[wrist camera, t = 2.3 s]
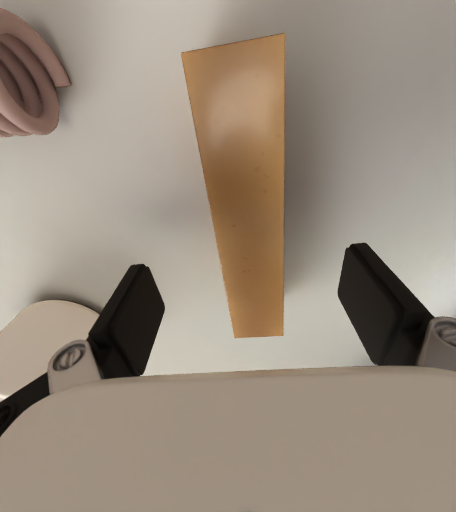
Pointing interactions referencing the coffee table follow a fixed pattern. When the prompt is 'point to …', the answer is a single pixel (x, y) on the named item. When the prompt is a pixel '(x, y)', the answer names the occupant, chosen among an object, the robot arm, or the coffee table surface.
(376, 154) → the coffee table surface
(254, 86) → the stick
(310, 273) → the coffee table surface
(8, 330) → the mug
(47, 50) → the coil
